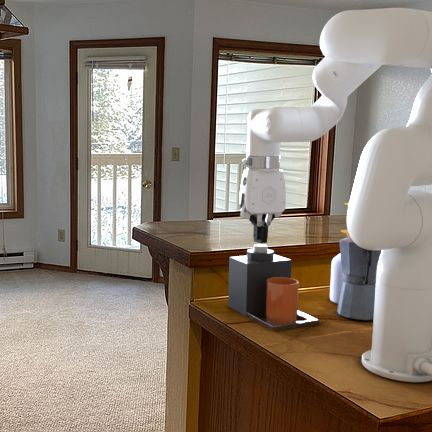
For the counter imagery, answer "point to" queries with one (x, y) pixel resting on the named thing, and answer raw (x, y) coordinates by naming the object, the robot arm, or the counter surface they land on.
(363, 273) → the moka pot
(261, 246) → the brew button
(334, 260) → the soap bottle
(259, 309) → the grey box with dial
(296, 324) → the cup bay
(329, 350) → the counter surface
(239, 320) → the counter surface
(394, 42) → the robot arm
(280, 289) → the cup
